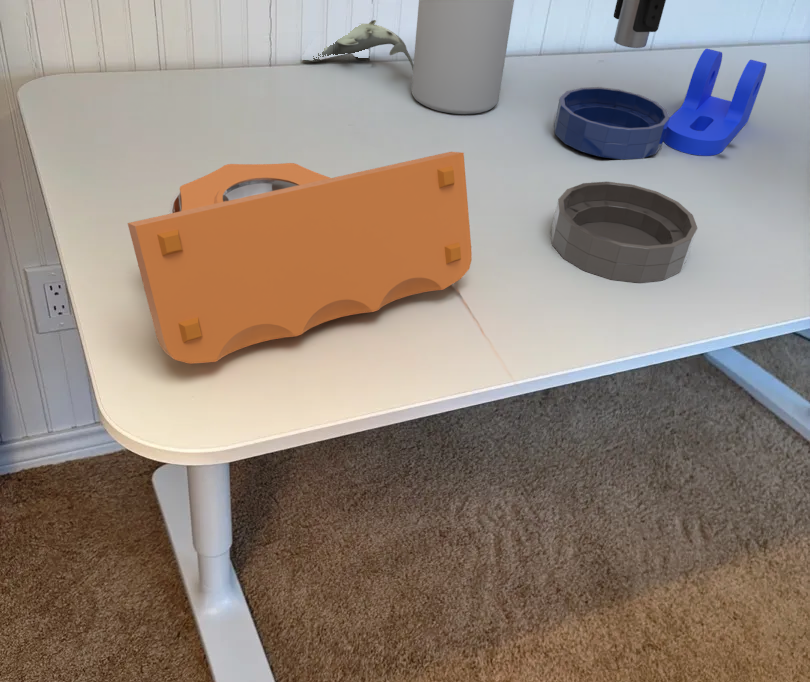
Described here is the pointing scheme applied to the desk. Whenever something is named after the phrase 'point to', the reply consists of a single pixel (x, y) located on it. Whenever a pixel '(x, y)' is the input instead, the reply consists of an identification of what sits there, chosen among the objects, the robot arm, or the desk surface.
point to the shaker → (629, 27)
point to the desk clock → (297, 249)
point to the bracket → (713, 108)
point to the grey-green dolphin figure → (366, 41)
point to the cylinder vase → (460, 54)
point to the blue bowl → (610, 123)
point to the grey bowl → (622, 231)
